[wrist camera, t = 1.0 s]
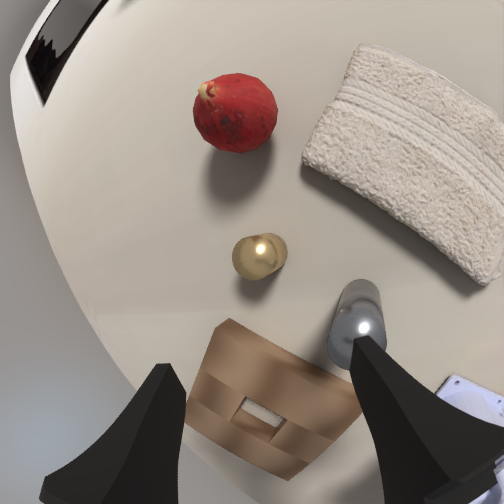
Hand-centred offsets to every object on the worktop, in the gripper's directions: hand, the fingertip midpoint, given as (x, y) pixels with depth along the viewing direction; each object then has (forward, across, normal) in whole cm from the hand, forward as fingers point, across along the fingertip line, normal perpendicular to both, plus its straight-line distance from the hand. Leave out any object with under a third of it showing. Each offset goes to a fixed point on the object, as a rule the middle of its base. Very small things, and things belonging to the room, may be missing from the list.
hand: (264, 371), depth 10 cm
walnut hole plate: (+8, +1, +15) cm, 17 cm away
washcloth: (+10, -14, -5) cm, 19 cm away
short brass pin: (+13, -1, +1) cm, 13 cm away
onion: (+16, -2, -8) cm, 18 cm away
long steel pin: (+9, -7, +4) cm, 12 cm away
